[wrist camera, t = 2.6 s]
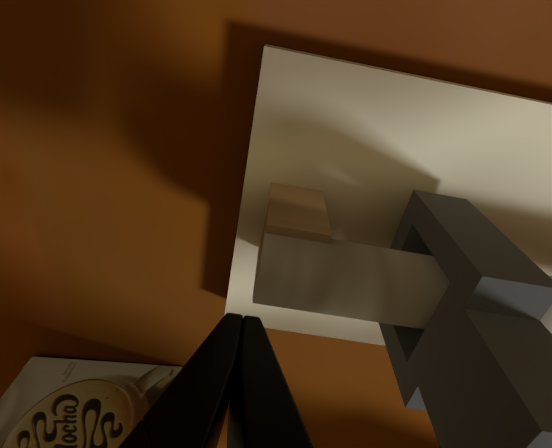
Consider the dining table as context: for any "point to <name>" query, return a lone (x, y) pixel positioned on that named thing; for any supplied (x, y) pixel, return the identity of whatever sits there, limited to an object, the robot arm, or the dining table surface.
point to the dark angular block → (475, 332)
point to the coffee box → (78, 402)
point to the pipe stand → (374, 190)
